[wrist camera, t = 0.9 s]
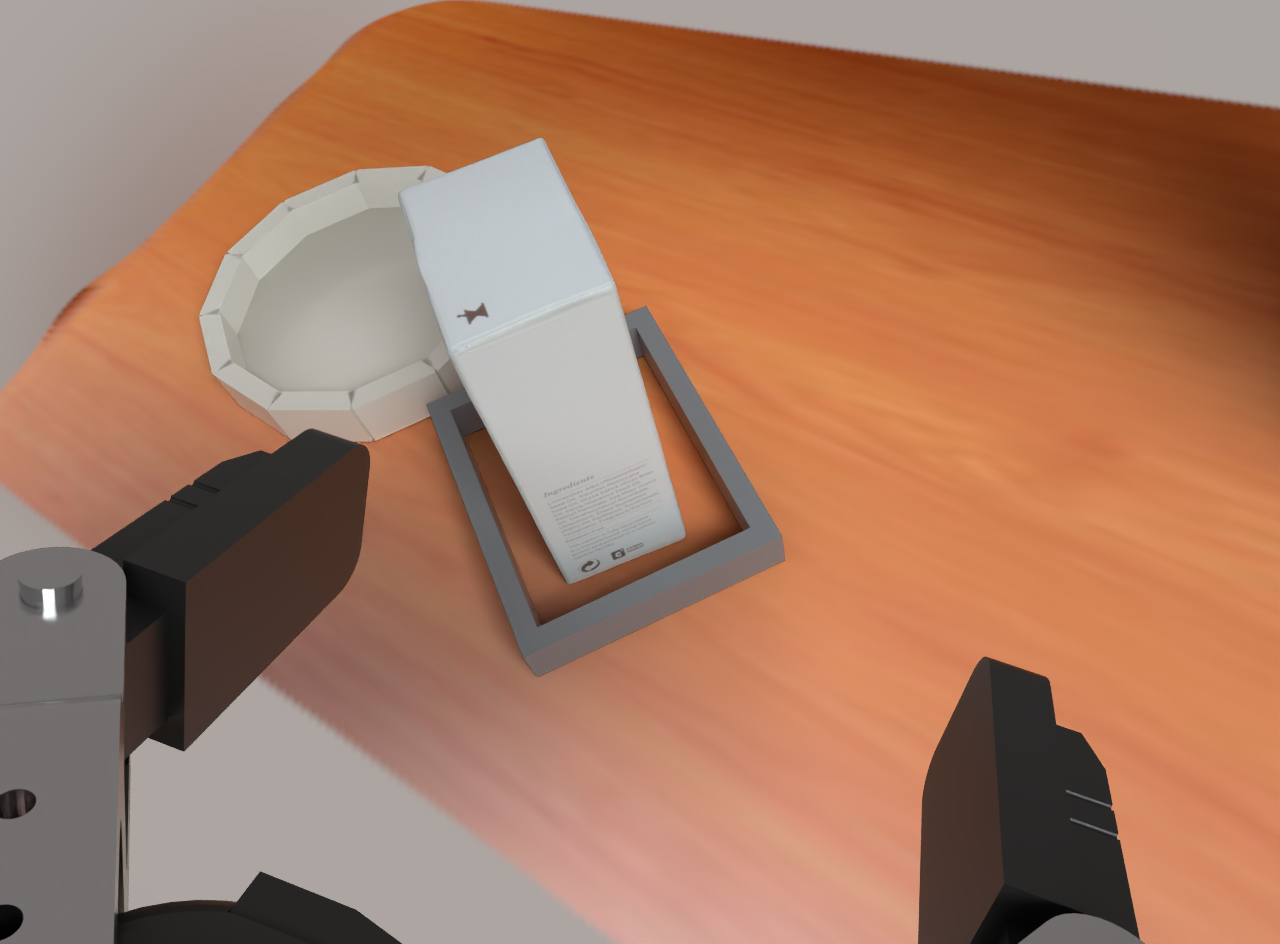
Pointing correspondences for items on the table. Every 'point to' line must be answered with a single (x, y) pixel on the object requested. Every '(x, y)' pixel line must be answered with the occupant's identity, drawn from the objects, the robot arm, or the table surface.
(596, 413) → the skincare box
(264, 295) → the bowl
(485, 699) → the table surface
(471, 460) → the tray
